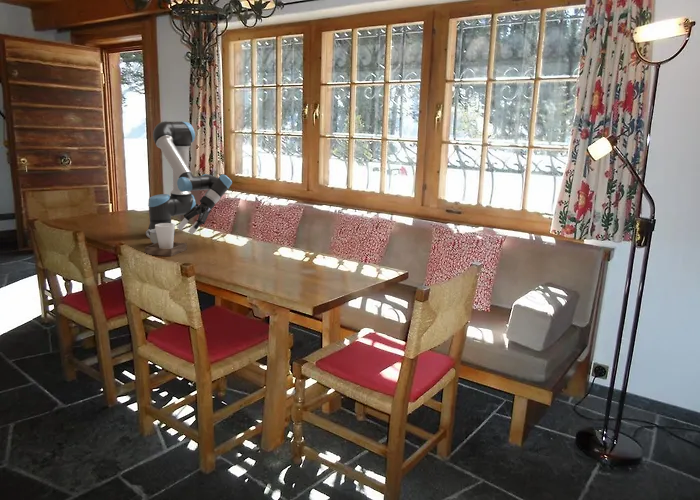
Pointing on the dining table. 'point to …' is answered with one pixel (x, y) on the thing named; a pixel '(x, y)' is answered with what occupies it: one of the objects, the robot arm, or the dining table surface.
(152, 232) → the teacup
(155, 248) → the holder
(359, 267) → the dining table surface
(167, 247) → the foam cup
